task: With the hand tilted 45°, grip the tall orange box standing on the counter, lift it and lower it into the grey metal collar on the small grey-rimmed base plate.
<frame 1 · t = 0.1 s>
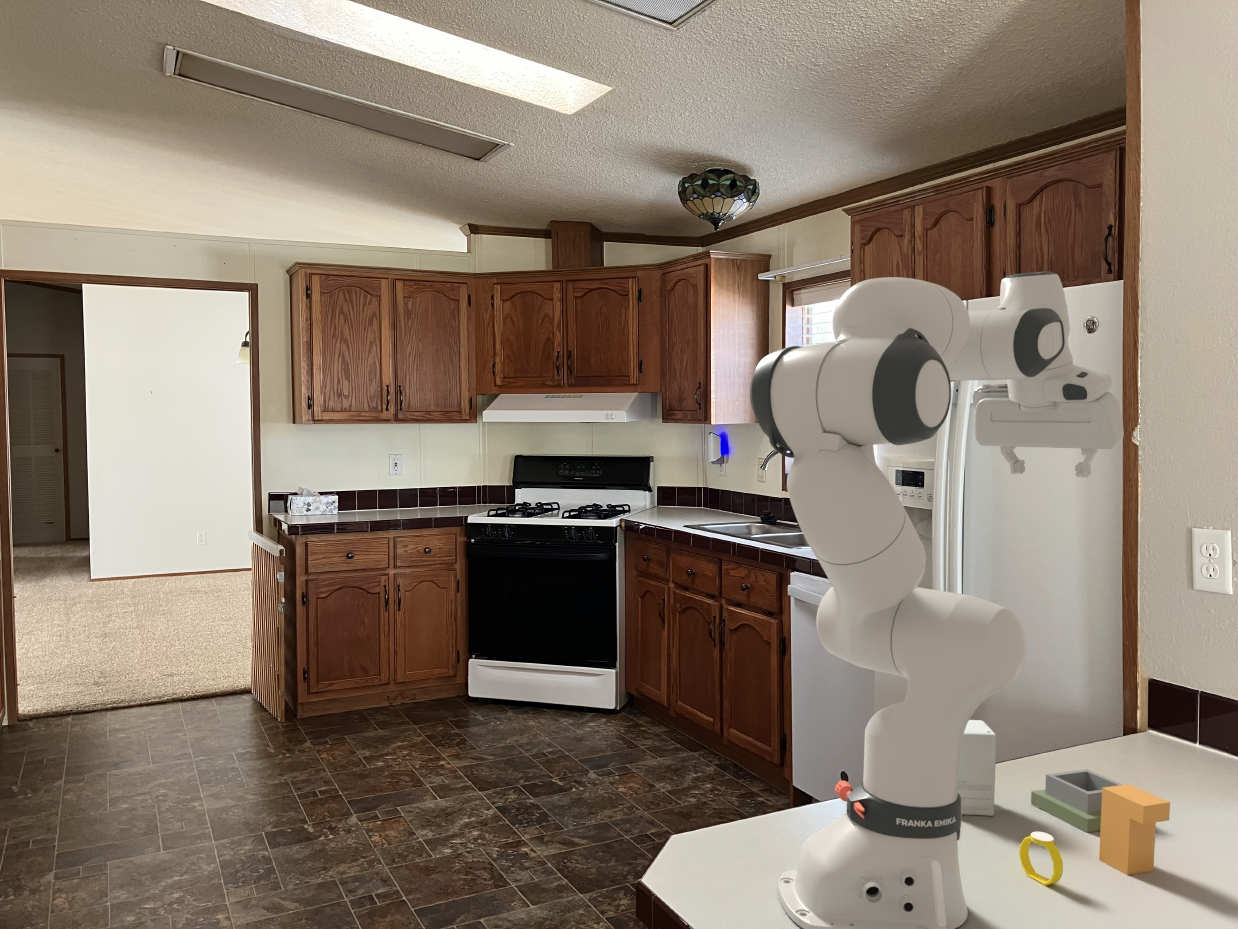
hand: (1050, 474, 141), 52 cm above the counter, tool tilted 20°, fingers open, 8 cm apart
watch: (1039, 881, 125), on the counter
supplement box: (963, 807, 149), on the counter
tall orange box: (1126, 865, 130), on the counter
grey-rimmed base plate: (1086, 813, 147), on the counter
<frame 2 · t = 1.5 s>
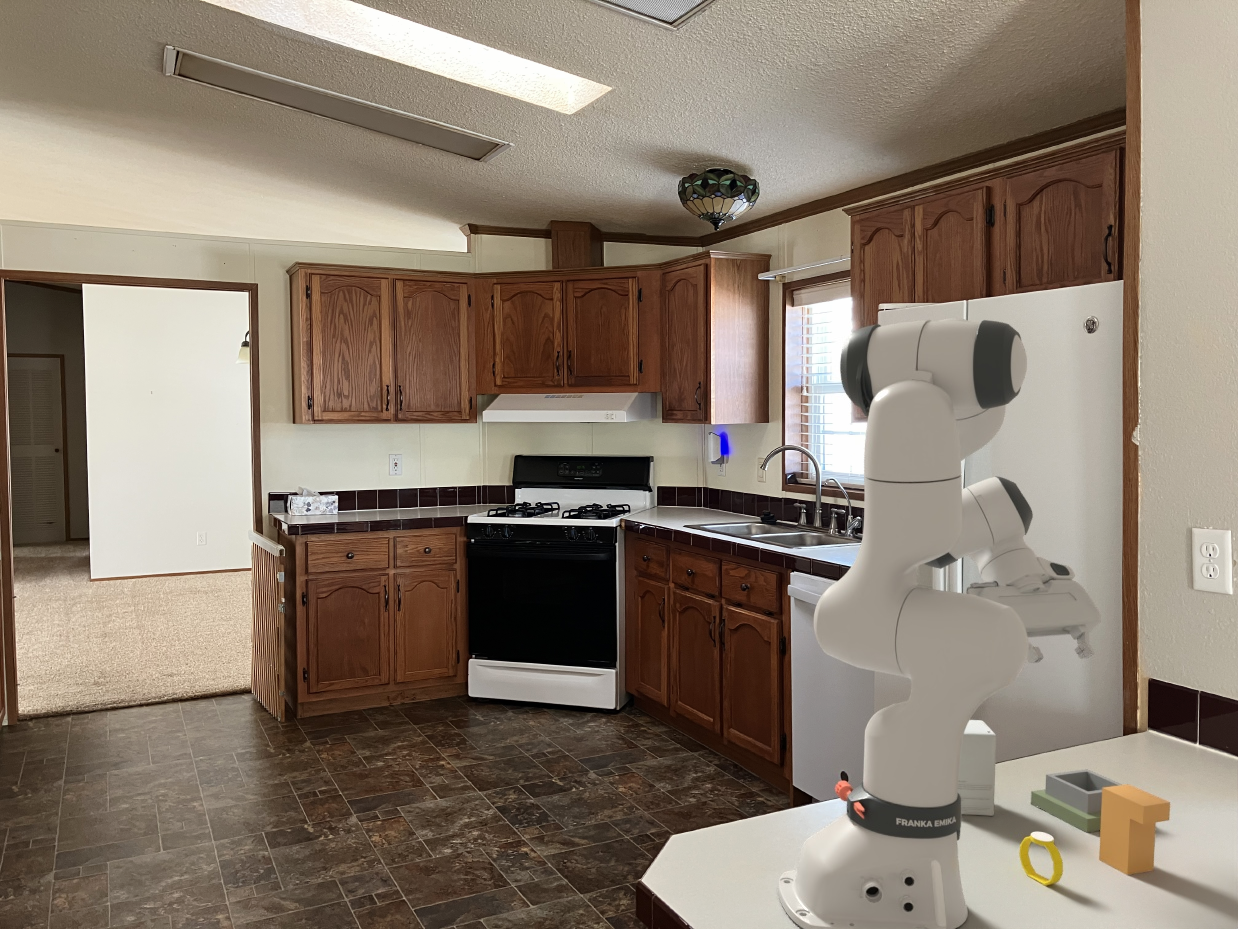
hand: (1062, 658, 141), 25 cm above the counter, tool tilted 45°, fingers open, 8 cm apart
nothing on the counter moved.
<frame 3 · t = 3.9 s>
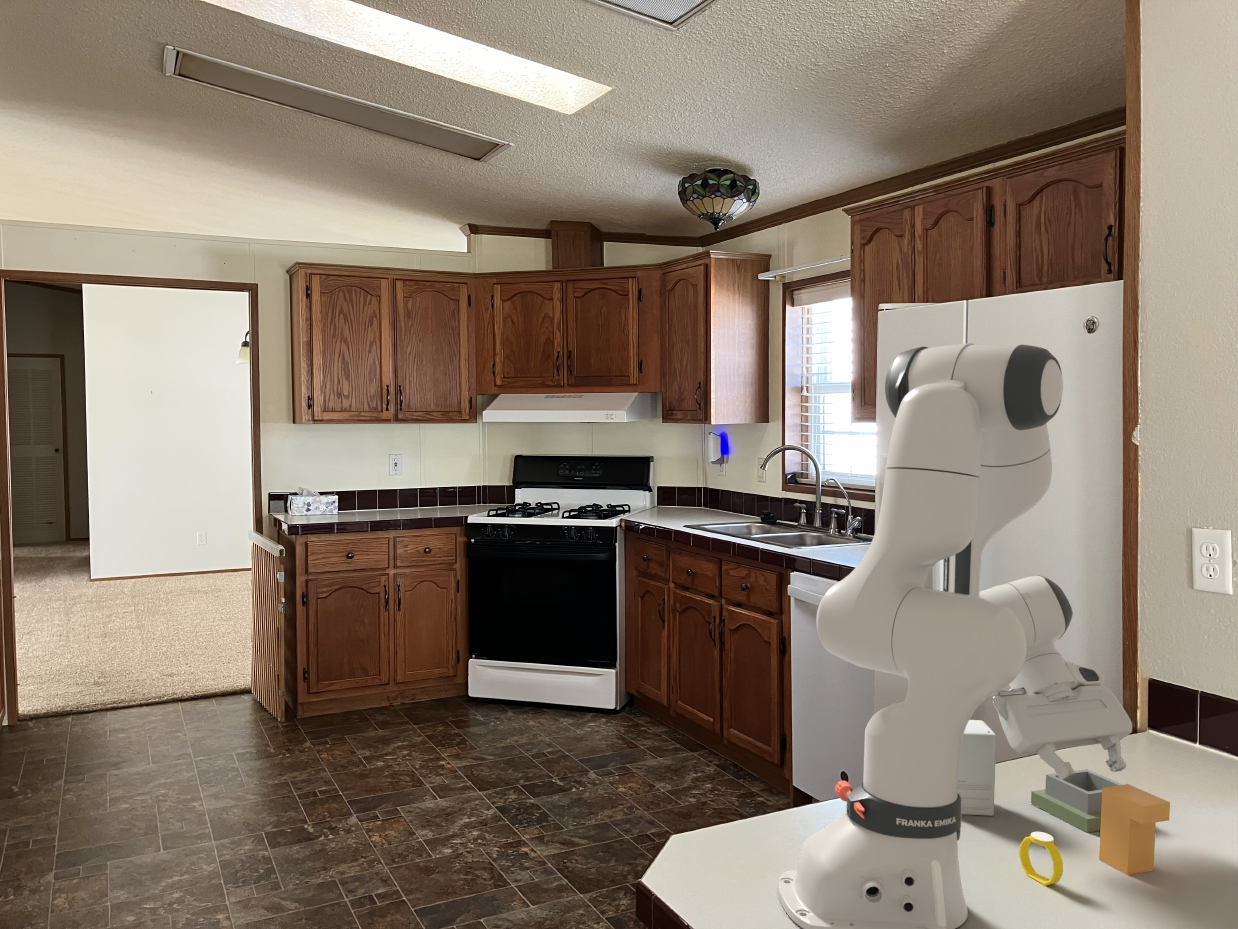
hand: (1094, 773, 135), 10 cm above the counter, tool tilted 45°, fingers open, 8 cm apart
nothing on the counter moved.
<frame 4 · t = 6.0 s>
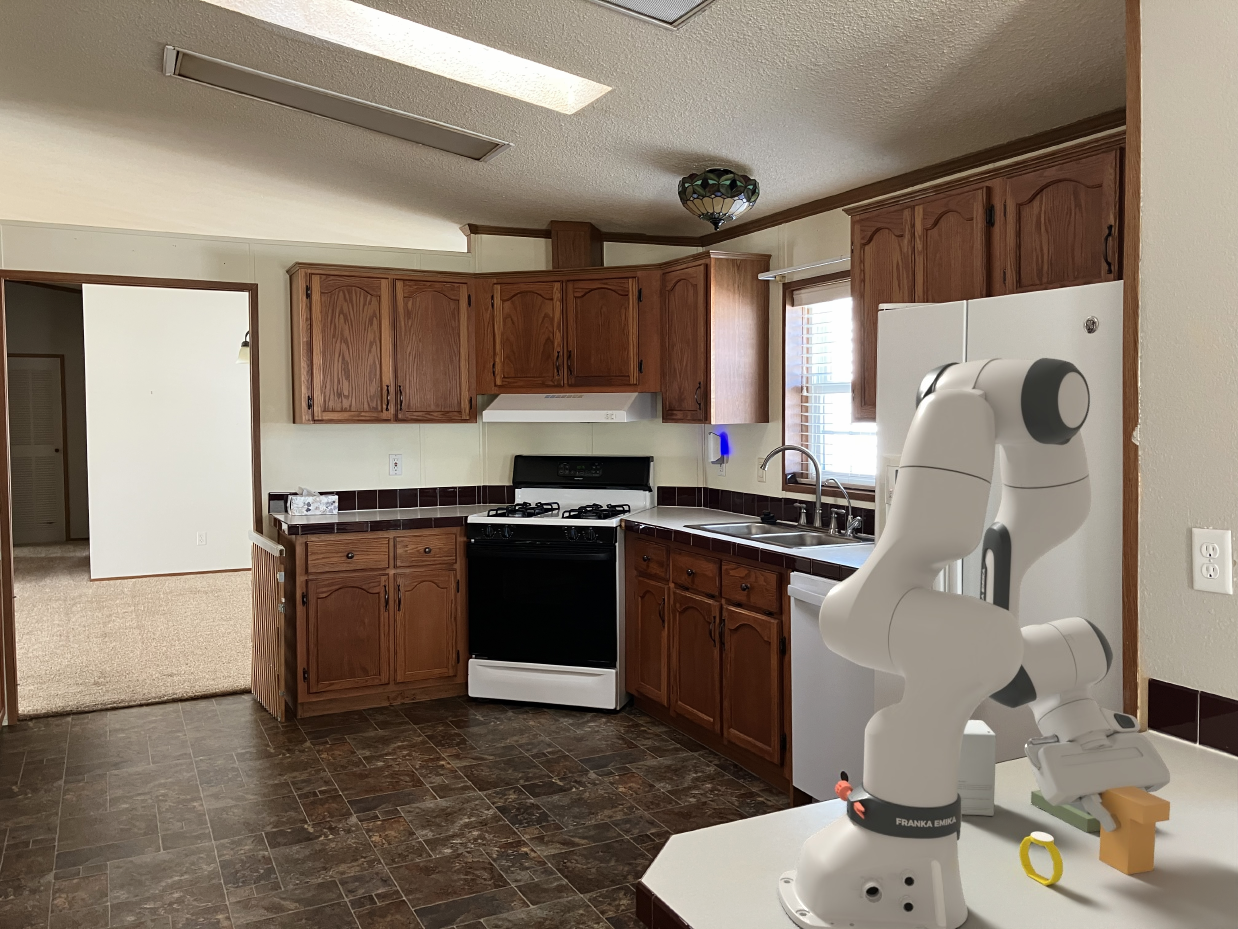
hand: (1131, 827, 129), 5 cm above the counter, tool tilted 45°, fingers closed on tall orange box, 5 cm apart
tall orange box: (1126, 865, 130), on the counter, touching gripper
everything else where it was.
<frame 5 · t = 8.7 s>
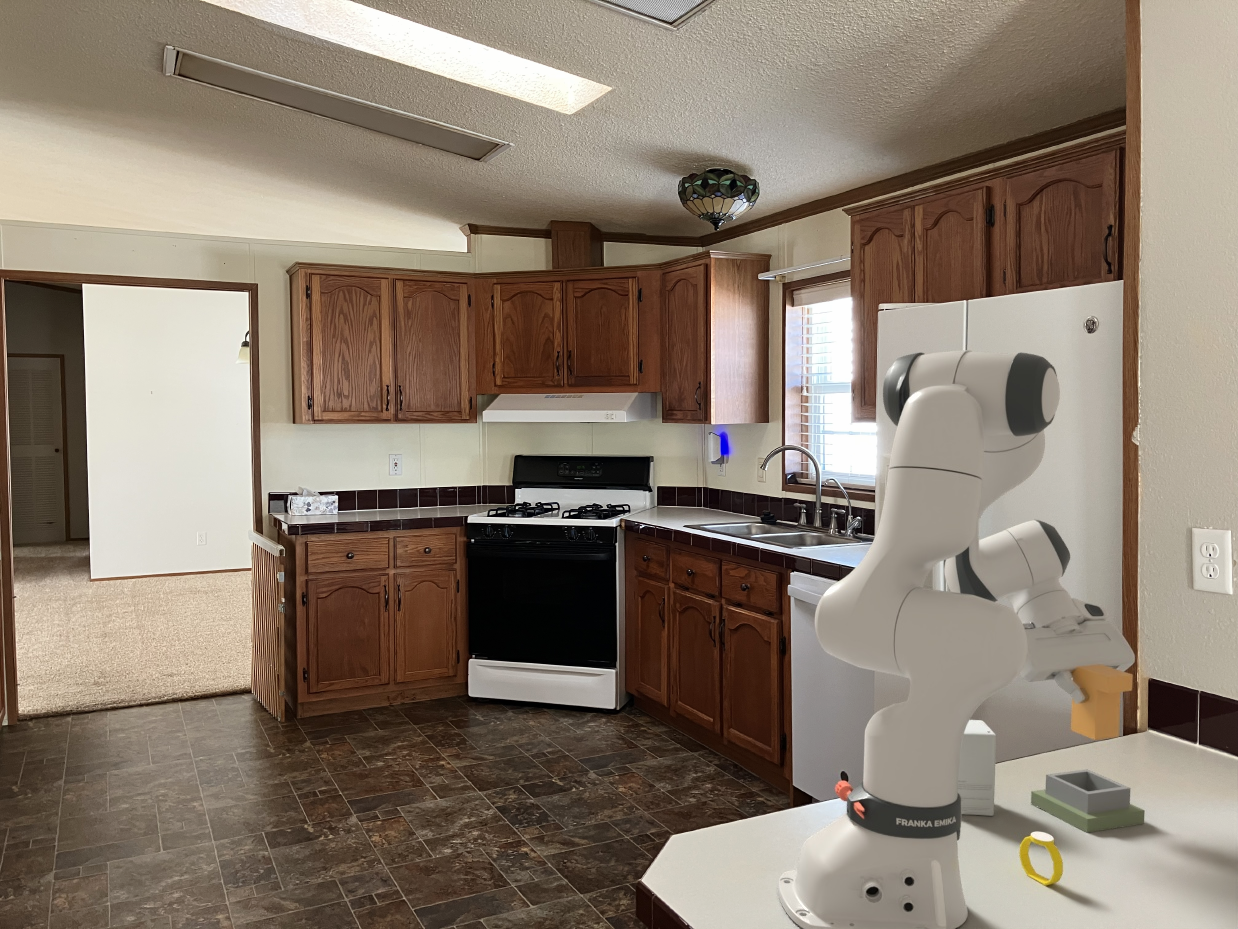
hand: (1099, 699, 145), 18 cm above the counter, tool tilted 45°, fingers closed on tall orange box, 5 cm apart
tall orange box: (1094, 733, 146), point 13 cm above the counter, touching gripper
everything else where it was.
when the fingers open (9 cm above the counter, at t = 11.4 s): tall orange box drops 1 cm, resting on grey-rimmed base plate.
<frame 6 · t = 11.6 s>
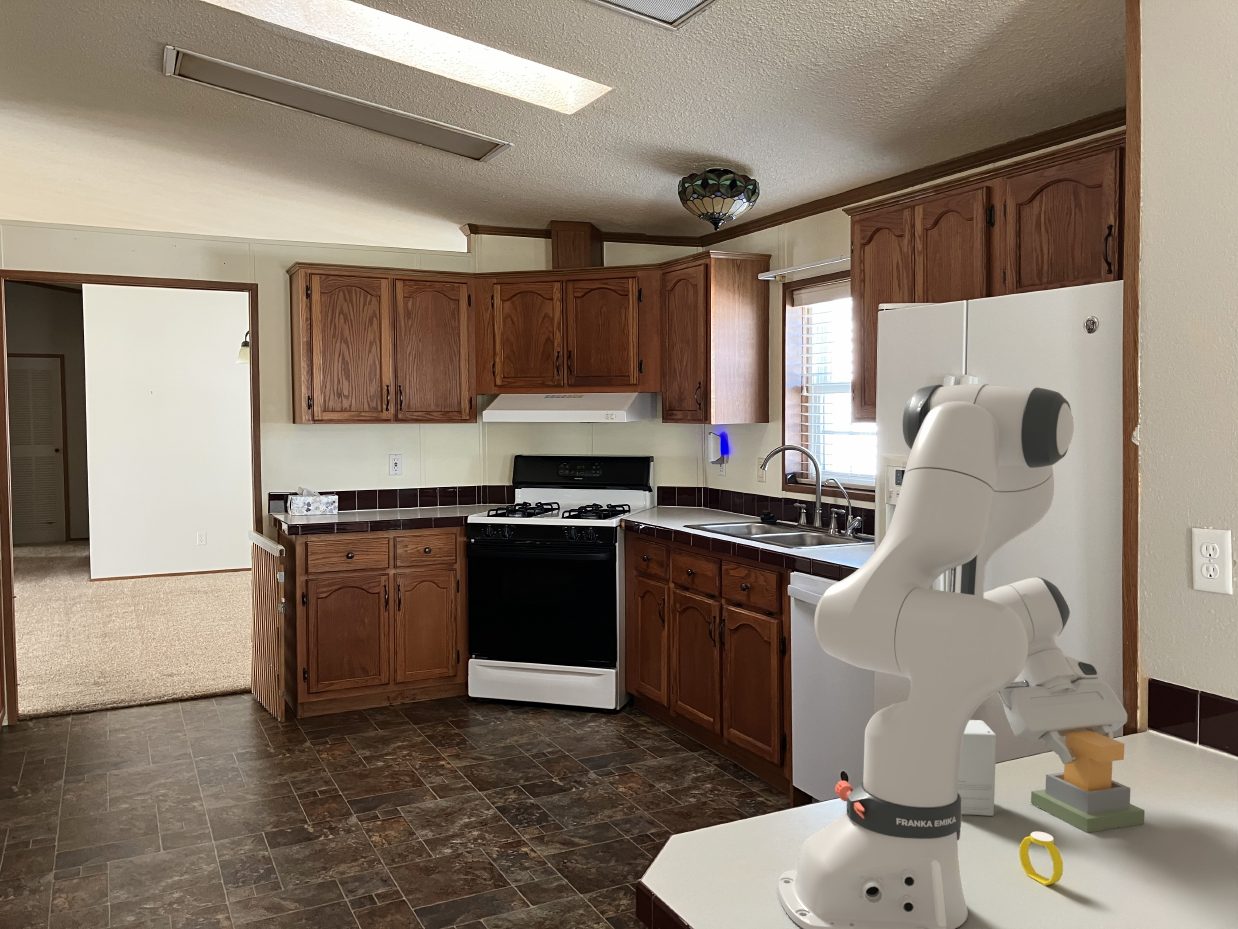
hand: (1091, 759, 146), 9 cm above the counter, tool tilted 45°, fingers open, 7 cm apart
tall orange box: (1086, 800, 147), point 2 cm above the counter, touching grey-rimmed base plate
everything else where it was.
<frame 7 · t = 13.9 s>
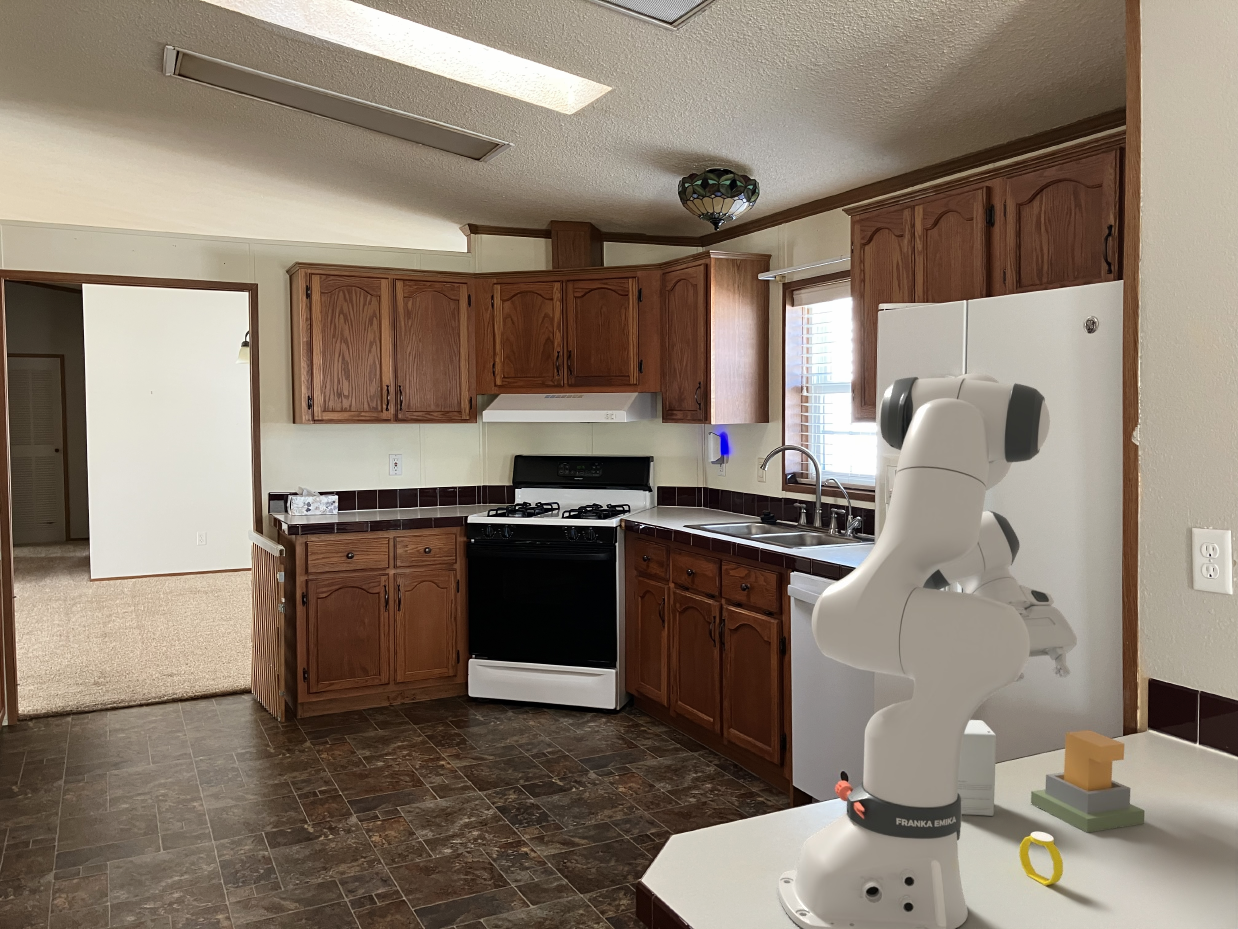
hand: (1041, 678, 156), 18 cm above the counter, tool tilted 45°, fingers open, 8 cm apart
nothing on the counter moved.
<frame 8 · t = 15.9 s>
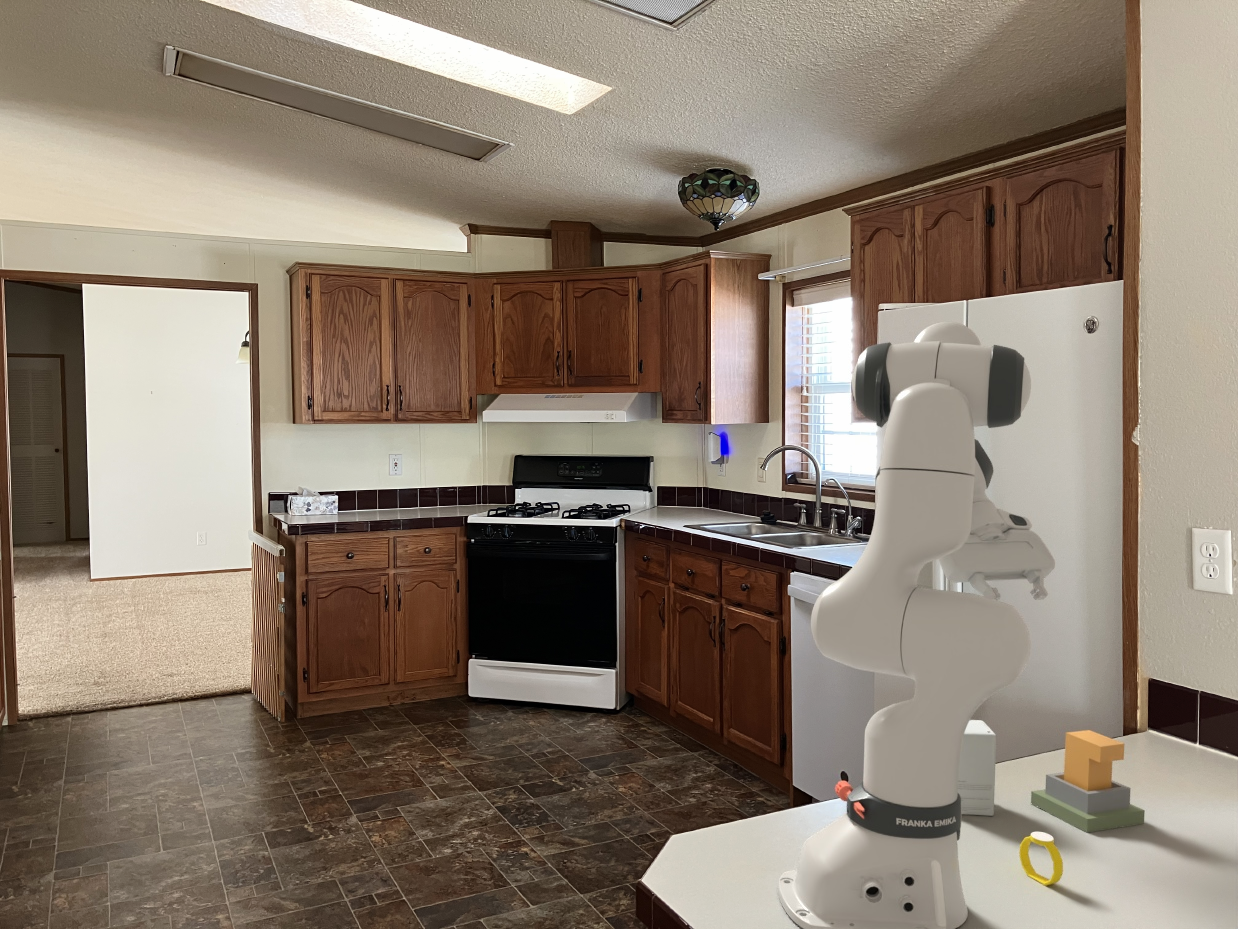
hand: (1018, 599, 154), 31 cm above the counter, tool tilted 45°, fingers open, 8 cm apart
nothing on the counter moved.
at the end: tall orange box 0.1 cm off-centre on the grey-rimmed base plate, point 2.0 cm above the grey-rimmed base plate's base; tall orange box tilted 0°; the gripper is holding nothing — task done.
